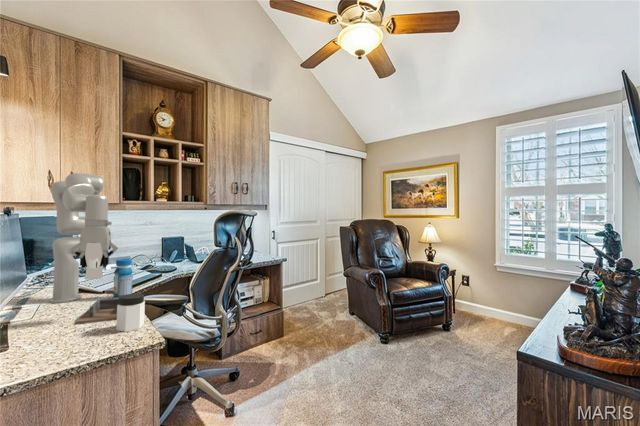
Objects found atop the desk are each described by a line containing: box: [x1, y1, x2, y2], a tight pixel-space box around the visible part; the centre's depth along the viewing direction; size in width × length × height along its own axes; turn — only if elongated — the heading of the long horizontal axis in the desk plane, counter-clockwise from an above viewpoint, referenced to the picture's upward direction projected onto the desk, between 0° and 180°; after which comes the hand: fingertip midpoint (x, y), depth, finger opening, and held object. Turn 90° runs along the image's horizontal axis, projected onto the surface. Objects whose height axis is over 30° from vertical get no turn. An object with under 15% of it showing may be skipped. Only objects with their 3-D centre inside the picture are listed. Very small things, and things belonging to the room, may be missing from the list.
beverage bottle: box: [112, 258, 134, 299], centre depth 150 cm, size 8×8×20 cm
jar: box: [115, 293, 146, 333], centre depth 109 cm, size 9×8×12 cm
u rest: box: [74, 298, 119, 325], centre depth 124 cm, size 20×18×5 cm
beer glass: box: [84, 243, 104, 280], centre depth 119 cm, size 7×7×15 cm
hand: (94, 266), depth 119 cm, fingers closed on beer glass, 6 cm apart
